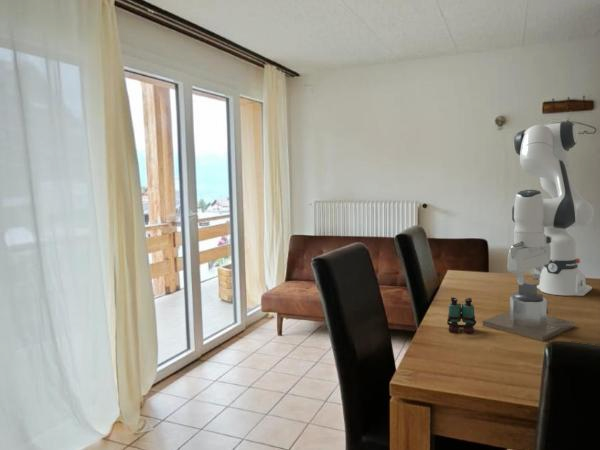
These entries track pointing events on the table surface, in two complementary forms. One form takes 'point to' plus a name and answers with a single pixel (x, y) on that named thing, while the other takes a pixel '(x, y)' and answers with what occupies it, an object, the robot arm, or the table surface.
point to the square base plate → (529, 320)
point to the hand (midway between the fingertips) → (529, 281)
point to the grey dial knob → (528, 293)
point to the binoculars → (456, 315)
